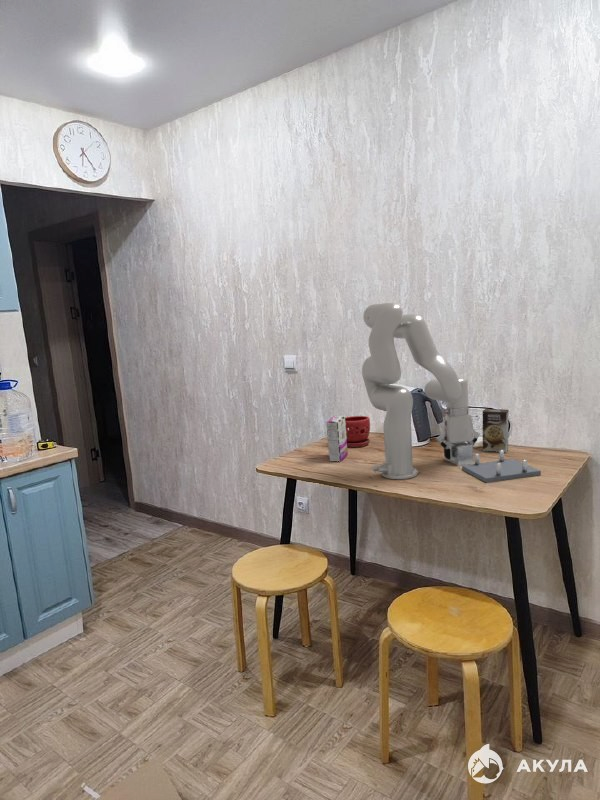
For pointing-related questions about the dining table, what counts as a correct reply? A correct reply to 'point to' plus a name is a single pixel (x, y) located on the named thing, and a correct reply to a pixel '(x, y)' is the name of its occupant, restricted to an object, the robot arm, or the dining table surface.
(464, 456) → the block
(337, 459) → the candy bar box
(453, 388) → the robot arm
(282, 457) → the dining table surface
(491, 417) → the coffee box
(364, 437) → the plant pot
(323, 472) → the dining table surface
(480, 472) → the pin board
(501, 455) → the guide pins
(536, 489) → the dining table surface
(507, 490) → the dining table surface
